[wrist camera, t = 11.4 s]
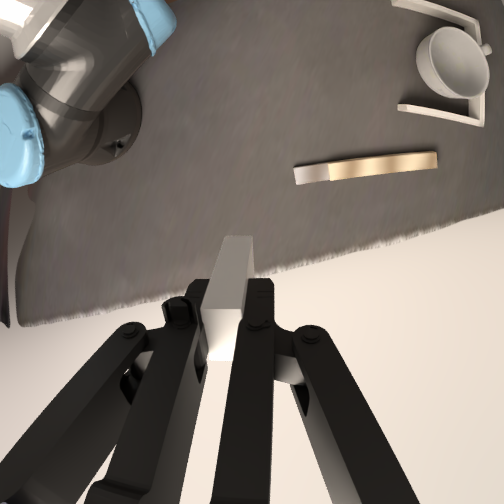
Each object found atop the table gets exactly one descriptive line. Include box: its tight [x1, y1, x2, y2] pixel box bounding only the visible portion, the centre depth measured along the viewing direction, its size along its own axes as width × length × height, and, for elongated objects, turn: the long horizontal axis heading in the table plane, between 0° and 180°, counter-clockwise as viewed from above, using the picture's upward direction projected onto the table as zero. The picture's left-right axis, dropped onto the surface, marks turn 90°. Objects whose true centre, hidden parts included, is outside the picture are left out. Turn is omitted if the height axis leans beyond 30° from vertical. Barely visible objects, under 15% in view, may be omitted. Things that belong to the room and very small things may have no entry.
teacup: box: [416, 27, 492, 99], centre depth 29 cm, size 14×11×8 cm
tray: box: [391, 0, 485, 127], centre depth 31 cm, size 15×19×4 cm
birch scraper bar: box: [293, 151, 437, 185], centre depth 41 cm, size 23×2×2 cm, turn 102°
